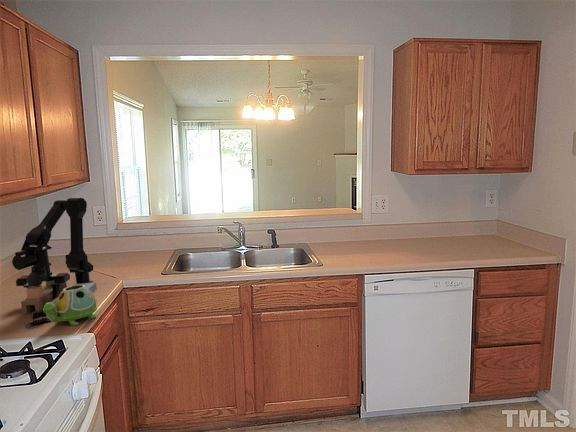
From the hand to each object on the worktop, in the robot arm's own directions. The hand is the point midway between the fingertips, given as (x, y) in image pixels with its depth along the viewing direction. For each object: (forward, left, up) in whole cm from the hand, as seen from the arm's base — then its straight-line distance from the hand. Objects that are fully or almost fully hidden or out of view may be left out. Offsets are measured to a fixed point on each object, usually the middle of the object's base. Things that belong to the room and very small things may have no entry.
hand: (46, 299), depth 174 cm
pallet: (0, 0, -1) cm, 1 cm away
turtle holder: (+22, +20, -1) cm, 29 cm away
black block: (+21, +8, -2) cm, 23 cm away
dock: (0, +11, -1) cm, 11 cm away
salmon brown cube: (+7, 0, +4) cm, 8 cm away
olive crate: (-7, 0, +4) cm, 8 cm away
